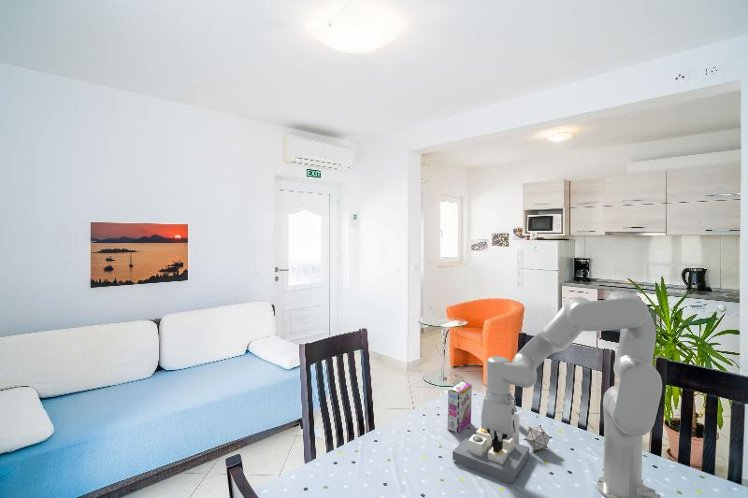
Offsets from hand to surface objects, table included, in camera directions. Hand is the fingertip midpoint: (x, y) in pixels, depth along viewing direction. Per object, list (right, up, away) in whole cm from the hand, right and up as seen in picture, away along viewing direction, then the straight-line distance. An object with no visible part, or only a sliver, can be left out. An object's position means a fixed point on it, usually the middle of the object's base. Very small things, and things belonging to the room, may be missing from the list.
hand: (497, 450), depth 126 cm
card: (+8, -5, +16) cm, 19 cm away
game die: (+18, -6, +11) cm, 22 cm away
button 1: (-1, -3, +10) cm, 10 cm away
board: (0, -6, +5) cm, 8 cm away
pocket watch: (+14, -5, +28) cm, 32 cm away
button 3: (0, -5, 0) cm, 5 cm away
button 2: (-5, -3, +4) cm, 8 cm away
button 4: (+5, -3, +6) cm, 8 cm away
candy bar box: (-6, -5, +27) cm, 28 cm away
